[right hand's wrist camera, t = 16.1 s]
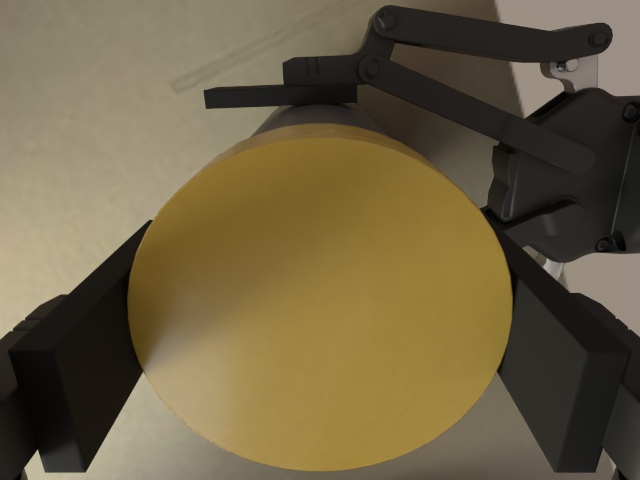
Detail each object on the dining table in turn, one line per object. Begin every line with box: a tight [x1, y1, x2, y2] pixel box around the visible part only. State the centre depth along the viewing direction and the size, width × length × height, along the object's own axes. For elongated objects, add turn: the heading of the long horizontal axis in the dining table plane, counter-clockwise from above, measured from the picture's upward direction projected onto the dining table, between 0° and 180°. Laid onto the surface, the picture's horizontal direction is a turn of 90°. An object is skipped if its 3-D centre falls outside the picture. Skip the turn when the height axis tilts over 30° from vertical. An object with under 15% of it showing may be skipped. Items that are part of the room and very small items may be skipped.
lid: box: [127, 124, 513, 471], centre depth 11 cm, size 9×9×2 cm
